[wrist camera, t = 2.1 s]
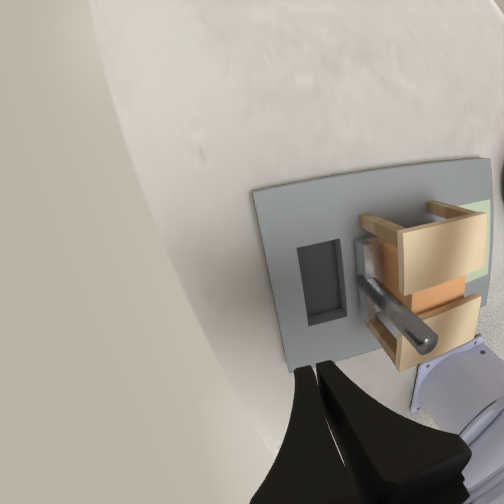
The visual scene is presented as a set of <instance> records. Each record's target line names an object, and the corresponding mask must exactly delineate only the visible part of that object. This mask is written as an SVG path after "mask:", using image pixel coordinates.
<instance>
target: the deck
mask: <svg viewBox="0 0 504 504" xmlns="http://www.w3.org/2000/svg"><path fill="white" fill-rule="evenodd" d="M252 194H253V199H254V204H255V208H256V213H257V218H258V223H259V228H260V232H261V237H262V242H263V247H264V252H265V257H266V261H267V266H268V271H269V276H270V281H271V286H272V291H273V296H274V301H275V306H276V311H277V316H278V321H279V326H280V331H281V336H282V341H283V347H284V352H285V357H286V362H287V366H288V370H289V373H292V372H294V370H295V369H296V368H299V367H303V366H307V365H311V367H312V368H313V367H316V363H319V362H323V361H327V360H331V361H333V362H336V361H340V360H343V359H347V358H350V357H354V356H357V355H360V354H364V353H367V352H370V351H373V350H376V349H379V348H382V346H381V345H380V344H379V342H378V341H377V339H376V338H375V337H374V335H373V334H372V333H371V331H370V330H369V329H368V327H367V326H366V320H365V319H364V318H363V316H362V315H361V314H360V302H359V286H358V285H357V278H358V272H357V260H356V250H355V239H359V238H364V237H368V236H373V235H374V234H372V233H371V232H369V231H367V230H365V229H363V228H361V227H360V225H359V216H358V215H361V214H366V213H371V214H373V215H376V216H378V217H381V218H383V219H385V220H388V221H390V222H393V223H395V224H397V225H400V226H402V227H404V228H408V227H412V226H417V225H421V224H425V223H430V222H434V221H441V220H446V219H445V218H442V217H439V216H436V215H433V214H430V213H427V211H426V202H427V201H433V200H435V201H439V202H443V203H447V204H450V205H454V206H458V207H462V208H465V209H469V210H472V211H476V212H479V211H481V212H485V213H487V241H486V259H485V267H484V268H482V269H479V270H477V271H474V272H472V273H469V274H466V282H465V292H464V297H467V296H469V295H471V294H474V293H478V294H479V295H481V296H482V297H481V303H480V308H481V307H483V306H485V305H486V302H487V296H488V288H489V281H490V271H491V261H492V246H493V186H492V172H491V161H490V158H468V159H456V160H445V161H435V162H426V163H417V164H409V165H401V166H393V167H385V168H378V169H371V170H364V171H357V172H351V173H345V174H338V175H332V176H326V177H321V178H315V179H309V180H304V181H298V182H293V183H288V184H282V185H277V186H272V187H267V188H262V189H258V190H253V191H252ZM375 314H376V315H377V317H378V318H379V319H380V320H381V321H382V322H383V324H384V325H385V326H386V327H387V328H388V330H389V331H390V332H391V333H392V334H393V336H394V337H395V338H396V339H397V336H398V329H397V328H396V327H395V326H394V325H393V323H392V322H391V321H390V320H389V319H388V318H387V317H386V316H385V315H384V313H383V312H382V311H379V312H375Z"/></svg>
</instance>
